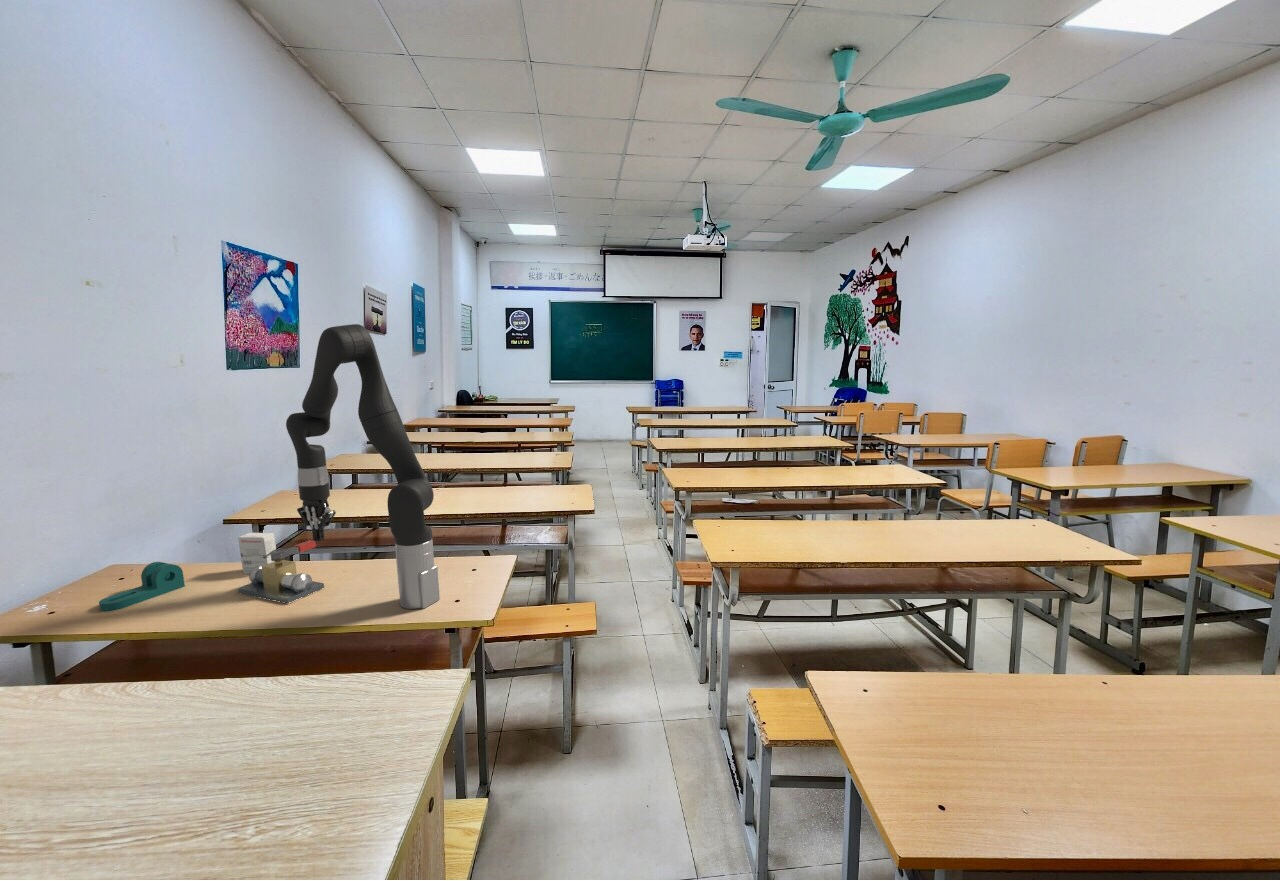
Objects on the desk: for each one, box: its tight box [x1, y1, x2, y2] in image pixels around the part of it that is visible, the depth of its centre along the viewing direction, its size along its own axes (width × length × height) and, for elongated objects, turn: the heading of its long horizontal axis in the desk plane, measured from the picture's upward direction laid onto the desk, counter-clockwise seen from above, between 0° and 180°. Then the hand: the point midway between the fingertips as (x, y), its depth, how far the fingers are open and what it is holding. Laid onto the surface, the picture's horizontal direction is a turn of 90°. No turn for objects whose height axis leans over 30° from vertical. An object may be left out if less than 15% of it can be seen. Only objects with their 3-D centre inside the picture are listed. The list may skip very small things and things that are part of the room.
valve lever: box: [271, 539, 317, 561], centre depth 165 cm, size 3×13×2 cm, turn 158°
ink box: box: [237, 532, 277, 575], centre depth 176 cm, size 9×5×12 cm, turn 84°
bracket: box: [98, 561, 186, 613], centre depth 159 cm, size 18×7×8 cm, turn 158°
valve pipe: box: [237, 559, 325, 604], centre depth 162 cm, size 20×11×9 cm, turn 68°
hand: (318, 540), depth 166 cm, fingers closed
